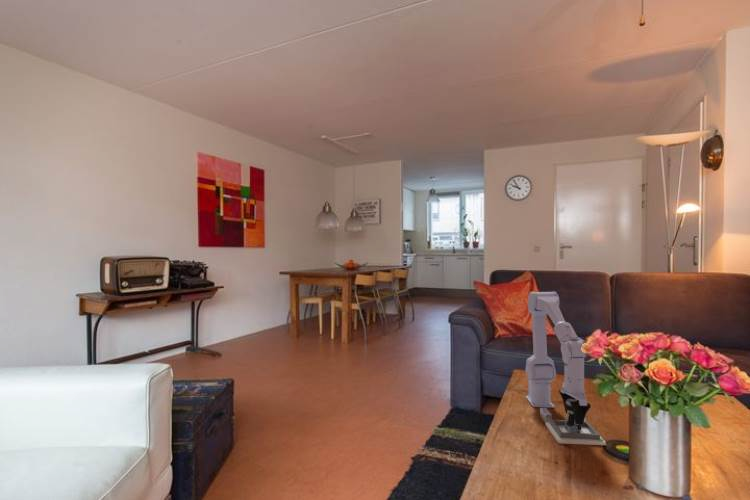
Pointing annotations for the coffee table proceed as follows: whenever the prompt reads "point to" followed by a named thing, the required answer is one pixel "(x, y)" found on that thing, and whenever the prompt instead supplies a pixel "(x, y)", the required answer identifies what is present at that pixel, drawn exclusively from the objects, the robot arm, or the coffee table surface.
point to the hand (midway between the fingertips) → (574, 418)
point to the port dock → (574, 434)
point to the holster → (546, 415)
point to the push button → (571, 418)
